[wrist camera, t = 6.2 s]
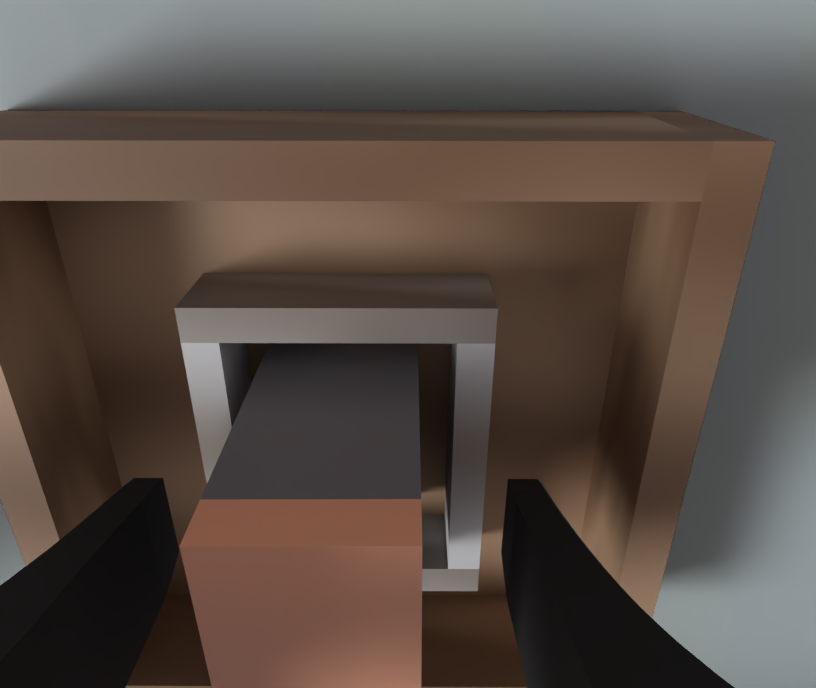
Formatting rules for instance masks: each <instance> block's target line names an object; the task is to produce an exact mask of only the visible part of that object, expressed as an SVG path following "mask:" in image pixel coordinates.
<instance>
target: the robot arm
mask: <svg viewBox="0 0 816 688" xmlns="http://www.w3.org/2000/svg"><path fill="white" fill-rule="evenodd" d="M178 554H179V547H178V543H177V538H176V534H175V529H174V525H173V520H172V516H171V511H170V507H169V502H168V498H167V493H166V489H165V484H164V480H163V478H133V479H132V480H131V481H129V482H128V483H127V484H126V485H124V486H123V487H122V488H121V489H120V490H118V491H117V492H116V493H115V494H114V495H113V496H111V497H110V498H109V499H108V500H107V501H105V502H104V503H103V504H102V505H101V506H100V507H98V508H97V509H96V510H95V511H94V512H93V513H91V514H90V515H89V516H88V517H87V518H85V519H84V520H83V521H82V522H81V523H79V524H78V525H77V526H76V527H75V528H73V529H72V530H71V531H70V532H69V533H67V534H66V535H65V536H64V537H63V538H61V539H60V540H59V541H58V542H57V543H55V544H54V545H53V546H52V547H50V548H49V549H48V550H46V551H45V552H44V553H43V554H41V555H40V556H39V557H37V558H36V559H35V560H33V561H32V562H31V563H30V564H28V565H27V566H26V567H24V568H23V569H22V570H20V571H19V572H18V573H16V574H15V575H14V576H13V577H11V578H10V579H9V580H7V581H6V582H5V583H3V584H2V585H0V688H125V687H126V685H127V683H128V681H129V678H130V676H131V674H132V672H133V670H134V667H135V665H136V663H137V661H138V658H139V656H140V654H141V652H142V650H143V647H144V645H145V643H146V641H147V638H148V636H149V634H150V632H151V629H152V627H153V625H154V623H155V620H156V618H157V616H158V613H159V611H160V609H161V607H162V604H163V602H164V600H165V597H166V594H167V591H168V588H169V584H170V581H171V578H172V575H173V571H174V568H175V564H176V561H177V557H178ZM501 555H502V564H503V573H504V582H505V590H506V598H507V603H508V607H509V611H510V616H511V620H512V625H513V629H514V633H515V638H516V642H517V646H518V650H519V655H520V659H521V663H522V667H523V672H524V676H525V680H526V684H527V688H734V687H733V686H731V685H730V684H729V683H727V682H726V681H725V680H724V679H722V678H721V677H720V676H718V675H717V674H716V673H714V672H713V671H712V670H711V669H710V668H708V667H707V666H706V665H705V664H704V663H702V662H701V661H700V660H699V659H697V658H696V657H695V656H694V655H693V654H691V653H690V652H689V651H688V650H687V649H685V648H684V647H683V646H682V645H681V644H679V643H678V642H677V641H676V640H675V639H674V638H673V637H671V636H670V635H669V634H668V633H667V632H666V631H665V630H664V629H663V628H662V627H660V626H659V625H658V624H657V623H656V622H655V621H654V620H653V619H652V618H651V617H650V616H649V615H648V614H647V613H646V612H645V611H644V610H643V609H642V608H641V607H640V606H639V605H638V604H637V603H636V602H635V601H634V600H633V599H632V598H631V597H630V596H629V595H628V594H627V592H626V591H625V590H624V589H623V588H622V587H621V586H620V585H619V584H618V583H617V581H616V580H615V579H614V578H613V577H612V576H611V575H610V574H609V573H608V571H607V570H606V569H605V568H604V567H603V566H602V564H601V563H600V562H599V561H598V560H597V558H596V557H595V556H594V555H593V553H592V552H591V551H590V550H589V548H588V547H587V546H586V545H585V543H584V542H583V541H582V540H581V538H580V537H579V536H578V535H577V533H576V532H575V531H574V529H573V528H572V527H571V525H570V524H569V522H568V521H567V520H566V518H565V517H564V516H563V514H562V513H561V511H560V510H559V509H558V507H557V506H556V504H555V503H554V501H553V500H552V498H551V497H550V495H549V494H548V492H547V491H546V489H545V488H544V486H543V485H542V483H541V482H540V481H539V480H538V479H508V483H507V494H506V505H505V515H504V526H503V537H502V548H501Z"/></svg>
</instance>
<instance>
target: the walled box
mask: <svg viewBox="0 0 816 688" xmlns="http://www.w3.org/2000/svg"><path fill="white" fill-rule="evenodd" d="M774 144H775V141H772V140H769V139H766V138H763V137H760V136H757V135H754V134H751V133H748V132H744V131H741V130H738V129H735V128H732V127H729V126H726V125H723V124H720V123H716V122H713V121H710V120H707V119H704V118H701V117H698V116H695V115H691V114H688V113H685V112H682V111H85V110H4V111H0V499H1V502H2V505H3V507H4V510H5V512H6V515H7V518H8V520H9V523H10V526H11V528H12V531H13V533H14V536H15V539H16V541H17V544H18V547H19V549H20V552H21V555H22V557H23V560H24V562H25V565H26V566H27V565H28V564H30V563H31V562H32V561H33V560H35V559H36V558H37V557H39V556H40V555H41V554H43V553H44V552H45V551H46V550H48V549H49V548H50V547H52V546H53V545H54V544H55V543H57V542H58V541H59V540H60V539H61V538H63V537H64V536H65V535H66V534H67V533H69V532H70V531H71V530H72V529H73V528H75V527H76V526H77V525H78V524H79V523H81V522H82V521H83V520H84V519H85V518H87V517H88V516H89V515H90V514H91V513H93V512H94V511H95V510H96V509H97V508H98V507H100V506H101V505H102V504H103V503H104V502H105V501H107V500H108V499H109V498H110V497H111V496H113V495H114V494H115V493H116V492H117V491H118V490H120V489H121V488H122V487H123V486H124V485H126V484H127V483H128V482H129V481H131V480H132V479H133V478H163V480H164V484H165V489H166V493H167V498H168V502H169V507H170V511H171V516H172V520H173V525H174V529H175V534H176V538H177V543H178V547H179V546H180V544H181V542H182V539H183V537H184V535H185V533H186V530H187V528H188V526H189V524H190V521H191V519H192V517H193V514H194V512H195V510H196V508H197V505H198V503H199V501H200V499H201V496H202V494H203V492H204V490H205V487H206V485H207V483H208V481H209V478H210V476H211V474H212V471H213V469H214V467H215V465H216V462H217V460H218V458H219V456H220V453H221V451H222V449H223V447H224V444H225V442H226V440H227V438H228V435H229V433H230V431H231V428H232V426H233V424H234V422H235V419H236V417H237V415H238V413H239V410H240V408H241V406H242V404H243V401H244V399H245V397H246V395H247V392H248V390H249V388H250V386H251V383H252V381H253V379H254V376H255V374H256V372H257V370H258V367H259V365H260V363H261V361H262V358H263V356H264V354H265V352H266V349H267V347H268V345H269V343H418V379H419V422H420V465H421V508H422V666H421V688H527V684H526V680H525V676H524V672H523V667H522V663H521V659H520V655H519V650H518V646H517V642H516V638H515V633H514V629H513V625H512V620H511V616H510V611H509V607H508V603H507V598H506V590H505V582H504V573H503V564H502V555H501V548H502V537H503V526H504V515H505V505H506V494H507V483H508V479H538V480H539V481H540V482H541V483H542V485H543V486H544V488H545V489H546V491H547V492H548V494H549V495H550V497H551V498H552V500H553V501H554V503H555V504H556V506H557V507H558V509H559V510H560V511H561V513H562V514H563V516H564V517H565V518H566V520H567V521H568V522H569V524H570V525H571V527H572V528H573V529H574V531H575V532H576V533H577V535H578V536H579V537H580V538H581V540H582V541H583V542H584V543H585V545H586V546H587V547H588V548H589V550H590V551H591V552H592V553H593V555H594V556H595V557H596V558H597V560H598V561H599V562H600V563H601V564H602V566H603V567H604V568H605V569H606V570H607V571H608V573H609V574H610V575H611V576H612V577H613V578H614V579H615V580H616V581H617V583H618V584H619V585H620V586H621V587H622V588H623V589H624V590H625V591H626V592H627V594H628V595H629V596H630V597H631V598H632V599H633V600H634V601H635V602H636V603H637V604H638V605H639V606H640V607H641V608H642V609H643V610H644V611H645V612H646V613H647V614H648V615H649V616H650V617H651V618H652V617H653V613H654V609H655V606H656V602H657V598H658V594H659V590H660V586H661V582H662V578H663V575H664V571H665V567H666V563H667V559H668V555H669V551H670V547H671V543H672V540H673V536H674V532H675V528H676V524H677V520H678V516H679V512H680V509H681V505H682V501H683V497H684V493H685V489H686V485H687V481H688V478H689V474H690V470H691V466H692V462H693V458H694V454H695V450H696V447H697V443H698V439H699V435H700V431H701V427H702V423H703V419H704V415H705V412H706V408H707V404H708V400H709V396H710V392H711V388H712V384H713V381H714V377H715V373H716V369H717V365H718V361H719V357H720V353H721V350H722V346H723V342H724V338H725V334H726V330H727V326H728V322H729V318H730V315H731V311H732V307H733V303H734V299H735V295H736V291H737V287H738V284H739V280H740V276H741V272H742V268H743V264H744V260H745V256H746V253H747V249H748V245H749V241H750V237H751V233H752V229H753V225H754V222H755V218H756V214H757V210H758V206H759V202H760V198H761V194H762V190H763V187H764V183H765V179H766V175H767V171H768V167H769V163H770V159H771V156H772V152H773V148H774ZM125 688H212V686H211V682H210V677H209V673H208V669H207V664H206V660H205V656H204V651H203V647H202V643H201V638H200V634H199V630H198V625H197V621H196V616H195V612H194V608H193V603H192V599H191V595H190V590H189V586H188V582H187V577H186V573H185V569H184V564H183V560H182V556H181V551H180V547H179V554H178V557H177V561H176V564H175V568H174V571H173V575H172V578H171V581H170V584H169V588H168V591H167V594H166V597H165V600H164V602H163V604H162V607H161V609H160V611H159V613H158V616H157V618H156V620H155V623H154V625H153V627H152V629H151V632H150V634H149V636H148V638H147V641H146V643H145V645H144V647H143V650H142V652H141V654H140V656H139V658H138V661H137V663H136V665H135V667H134V670H133V672H132V674H131V676H130V678H129V681H128V683H127V685H126V687H125Z"/></svg>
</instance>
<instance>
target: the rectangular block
mask: <svg viewBox="0 0 816 688" xmlns="http://www.w3.org/2000/svg"><path fill="white" fill-rule="evenodd" d="M179 547H180V551H181V556H182V560H183V564H184V569H185V573H186V577H187V582H188V586H189V590H190V595H191V599H192V603H193V608H194V612H195V616H196V621H197V625H198V630H199V634H200V638H201V643H202V647H203V651H204V656H205V660H206V664H207V669H208V673H209V677H210V682H211V686H212V688H421V666H422V508H421V465H420V422H419V379H418V343H269V345H268V347H267V349H266V352H265V354H264V356H263V358H262V361H261V363H260V365H259V367H258V370H257V372H256V374H255V376H254V379H253V381H252V383H251V386H250V388H249V390H248V392H247V395H246V397H245V399H244V401H243V404H242V406H241V408H240V410H239V413H238V415H237V417H236V419H235V422H234V424H233V426H232V428H231V431H230V433H229V435H228V438H227V440H226V442H225V444H224V447H223V449H222V451H221V453H220V456H219V458H218V460H217V462H216V465H215V467H214V469H213V471H212V474H211V476H210V478H209V481H208V483H207V485H206V487H205V490H204V492H203V494H202V496H201V499H200V501H199V503H198V505H197V508H196V510H195V512H194V514H193V517H192V519H191V521H190V524H189V526H188V528H187V530H186V533H185V535H184V537H183V539H182V542H181V544H180V546H179Z"/></svg>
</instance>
